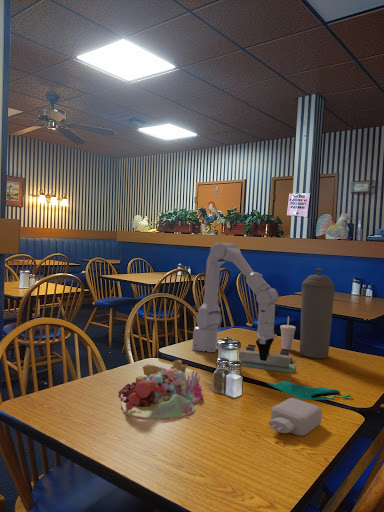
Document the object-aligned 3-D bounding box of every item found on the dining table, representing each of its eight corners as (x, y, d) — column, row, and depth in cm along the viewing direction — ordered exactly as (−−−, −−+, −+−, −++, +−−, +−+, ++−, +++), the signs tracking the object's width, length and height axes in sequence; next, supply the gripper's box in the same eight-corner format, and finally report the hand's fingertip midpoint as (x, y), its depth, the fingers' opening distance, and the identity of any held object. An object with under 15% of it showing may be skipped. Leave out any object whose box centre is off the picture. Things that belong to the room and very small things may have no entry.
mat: (231, 364, 146) (231, 363, 146) (236, 357, 155) (236, 356, 155) (293, 373, 140) (293, 372, 140) (295, 365, 148) (295, 364, 148)
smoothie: (278, 350, 168) (280, 316, 167) (279, 346, 174) (281, 314, 173) (294, 352, 166) (296, 318, 165) (294, 348, 172) (296, 315, 172)
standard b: (276, 361, 153) (277, 351, 152) (278, 356, 158) (279, 347, 158) (290, 363, 151) (291, 353, 151) (291, 358, 157) (292, 349, 157)
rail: (238, 360, 149) (239, 351, 148) (240, 358, 151) (240, 349, 151) (288, 367, 143) (289, 358, 143) (289, 365, 146) (290, 355, 146)
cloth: (257, 389, 125) (258, 382, 125) (275, 377, 136) (275, 371, 136) (345, 413, 110) (346, 405, 110) (356, 398, 122) (357, 390, 121)
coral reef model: (113, 386, 121) (114, 356, 120) (188, 381, 128) (190, 352, 127) (126, 425, 97) (127, 387, 96) (218, 416, 104) (219, 380, 104)
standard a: (242, 356, 157) (243, 347, 156) (245, 352, 162) (246, 343, 162) (255, 358, 155) (256, 349, 155) (258, 354, 161) (258, 345, 161)
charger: (256, 432, 96) (287, 413, 107) (292, 447, 90) (321, 426, 101) (257, 413, 96) (288, 396, 107) (293, 426, 90) (322, 407, 101)
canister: (334, 361, 156) (340, 270, 155) (301, 359, 157) (307, 269, 155) (324, 351, 169) (330, 268, 167) (294, 350, 169) (299, 266, 168)
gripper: (275, 327, 138) (272, 366, 139) (279, 319, 152) (277, 355, 153) (254, 324, 140) (252, 363, 141) (260, 317, 154) (258, 352, 155)
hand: (263, 359), depth 147 cm, fingers closed on rail, 3 cm apart
